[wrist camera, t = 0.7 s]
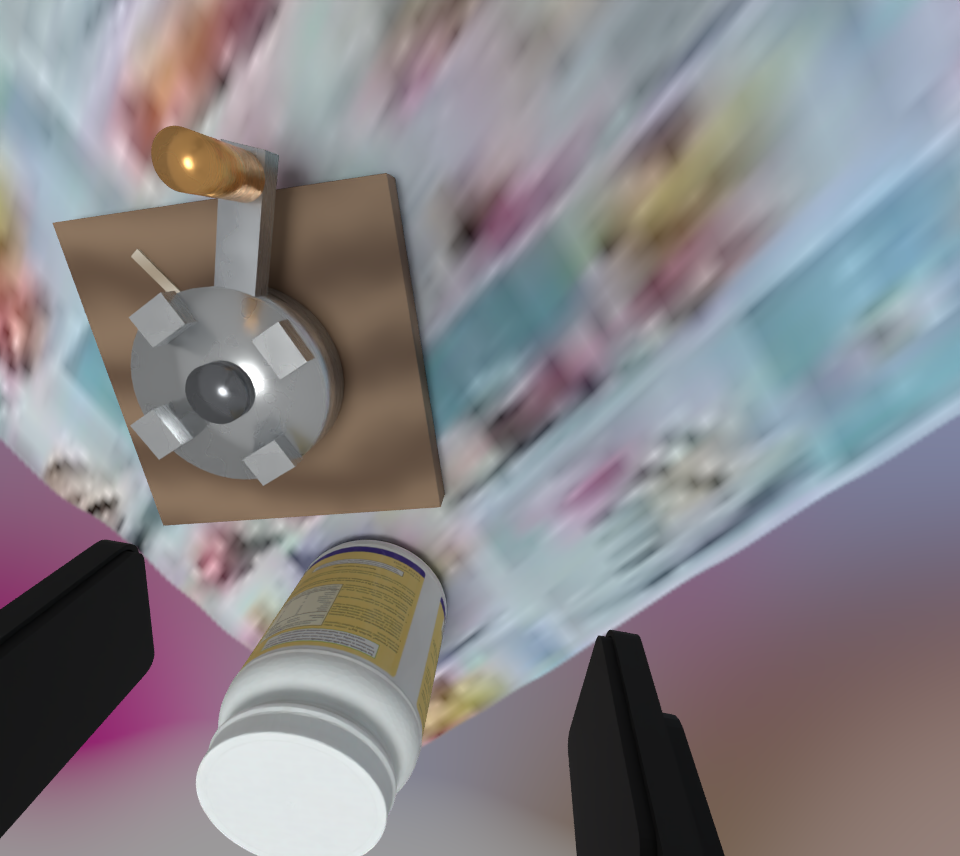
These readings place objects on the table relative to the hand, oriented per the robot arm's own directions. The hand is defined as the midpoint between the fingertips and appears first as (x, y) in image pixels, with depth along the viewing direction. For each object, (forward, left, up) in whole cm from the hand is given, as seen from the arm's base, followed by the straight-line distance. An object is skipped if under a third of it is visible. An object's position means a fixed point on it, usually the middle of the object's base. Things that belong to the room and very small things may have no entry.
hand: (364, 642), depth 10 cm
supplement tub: (+19, -11, -26) cm, 34 cm away
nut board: (-1, -15, -26) cm, 30 cm away
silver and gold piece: (-5, -13, -24) cm, 28 cm away
